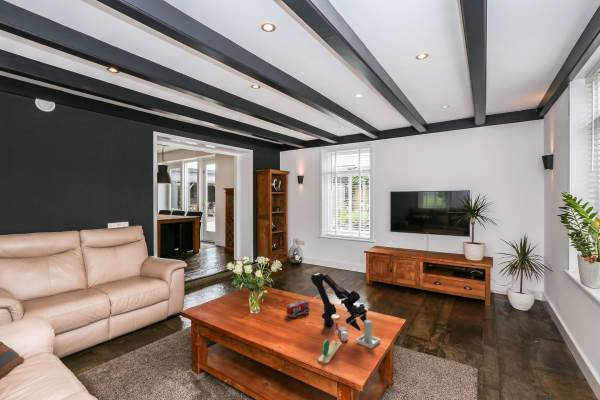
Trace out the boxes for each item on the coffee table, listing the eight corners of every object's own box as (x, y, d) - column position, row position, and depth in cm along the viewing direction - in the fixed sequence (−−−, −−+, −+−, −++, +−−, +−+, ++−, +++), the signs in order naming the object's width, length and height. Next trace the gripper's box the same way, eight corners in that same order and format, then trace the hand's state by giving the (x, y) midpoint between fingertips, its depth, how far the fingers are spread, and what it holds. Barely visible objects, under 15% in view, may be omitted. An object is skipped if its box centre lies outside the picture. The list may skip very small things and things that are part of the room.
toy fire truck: (310, 313, 230) (310, 301, 230) (291, 319, 220) (290, 306, 220) (304, 310, 238) (304, 298, 238) (285, 315, 228) (285, 303, 227)
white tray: (356, 342, 186) (356, 339, 186) (365, 336, 194) (365, 333, 194) (371, 348, 178) (371, 345, 178) (380, 342, 186) (380, 339, 186)
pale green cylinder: (366, 344, 182) (366, 324, 182) (362, 340, 187) (362, 320, 187) (373, 342, 184) (373, 322, 184) (369, 338, 189) (368, 319, 189)
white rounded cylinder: (341, 341, 188) (341, 334, 187) (340, 337, 192) (340, 331, 192) (348, 340, 188) (348, 334, 188) (346, 337, 192) (346, 330, 192)
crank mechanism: (332, 342, 186) (332, 313, 186) (342, 344, 183) (342, 315, 183) (317, 362, 164) (316, 329, 164) (327, 365, 161) (327, 332, 161)
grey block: (340, 336, 193) (340, 330, 193) (338, 333, 198) (338, 327, 198) (347, 336, 194) (347, 330, 194) (344, 332, 199) (344, 326, 199)
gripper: (349, 304, 184) (363, 327, 177) (364, 297, 198) (379, 317, 190) (339, 313, 190) (353, 335, 183) (355, 305, 203) (368, 325, 196)
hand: (364, 328), depth 188 cm, fingers open, 9 cm apart
